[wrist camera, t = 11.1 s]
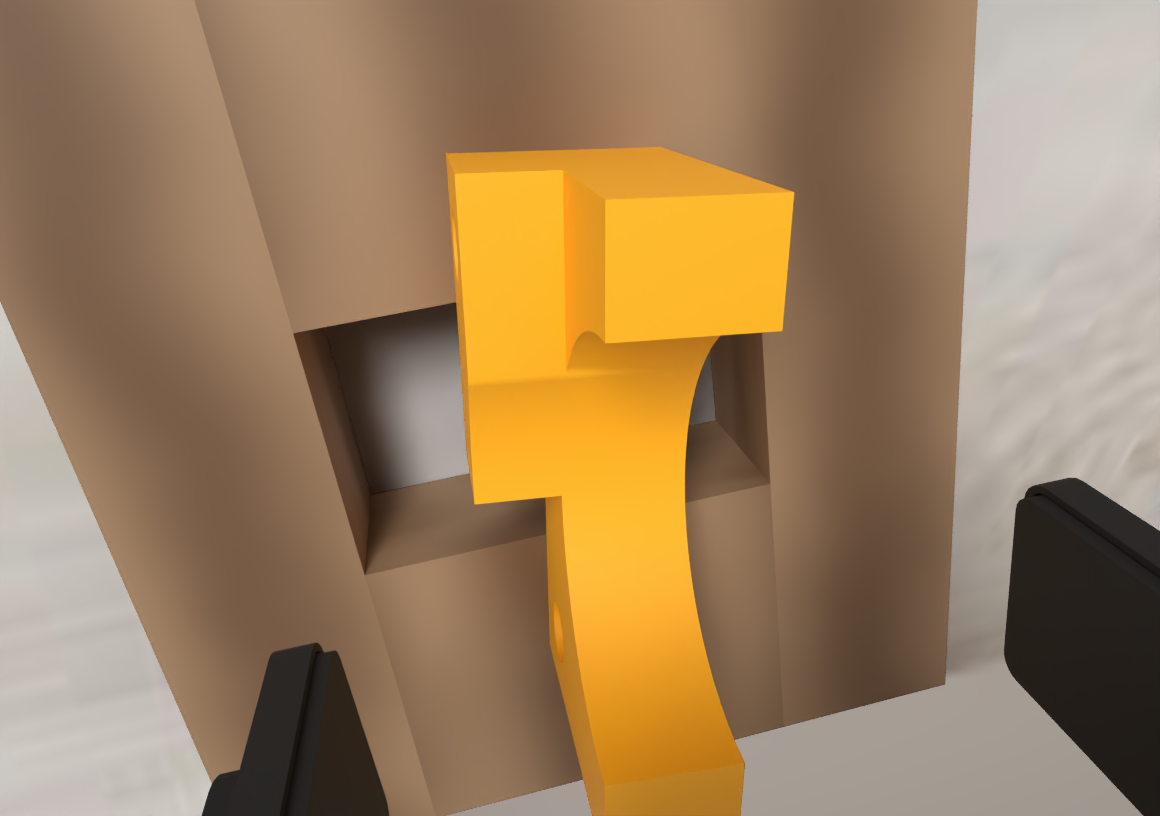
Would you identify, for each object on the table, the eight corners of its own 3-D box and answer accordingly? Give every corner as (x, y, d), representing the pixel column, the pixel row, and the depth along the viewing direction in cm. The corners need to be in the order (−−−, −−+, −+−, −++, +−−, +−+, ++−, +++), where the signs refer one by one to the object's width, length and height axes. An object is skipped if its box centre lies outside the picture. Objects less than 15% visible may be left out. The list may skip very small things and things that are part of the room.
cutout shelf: (878, -172, 19) (988, -225, 16) (875, 603, 28) (945, 684, 24) (-45, -51, 17) (-169, -82, 13) (271, 753, 26) (248, 867, 22)
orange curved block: (445, 153, 16) (467, 205, 10) (660, 146, 17) (794, 191, 11) (480, 652, 21) (508, 882, 15) (648, 630, 22) (738, 841, 16)
